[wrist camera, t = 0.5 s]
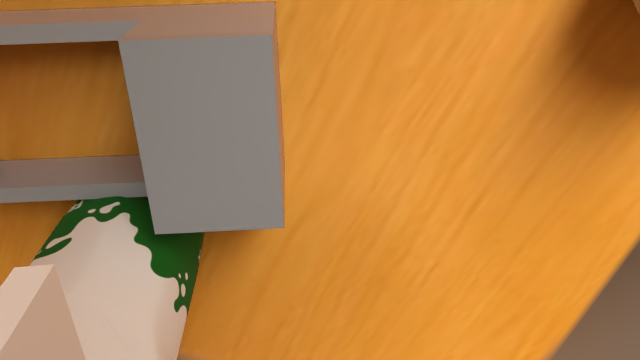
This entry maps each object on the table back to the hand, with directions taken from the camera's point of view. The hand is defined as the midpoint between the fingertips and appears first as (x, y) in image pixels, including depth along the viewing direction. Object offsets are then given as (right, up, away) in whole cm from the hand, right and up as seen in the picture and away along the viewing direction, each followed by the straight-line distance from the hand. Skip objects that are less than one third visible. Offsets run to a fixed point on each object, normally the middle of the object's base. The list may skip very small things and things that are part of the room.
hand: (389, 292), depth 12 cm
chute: (-17, +8, +24) cm, 30 cm away
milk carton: (-14, -1, +29) cm, 32 cm away
